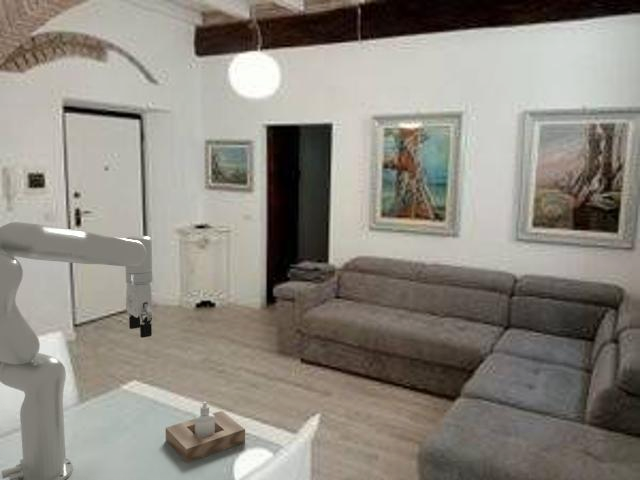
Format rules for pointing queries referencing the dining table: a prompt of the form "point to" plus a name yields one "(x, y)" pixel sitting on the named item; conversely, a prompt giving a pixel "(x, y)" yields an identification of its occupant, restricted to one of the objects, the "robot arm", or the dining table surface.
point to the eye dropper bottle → (204, 422)
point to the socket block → (194, 447)
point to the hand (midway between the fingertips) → (140, 332)
